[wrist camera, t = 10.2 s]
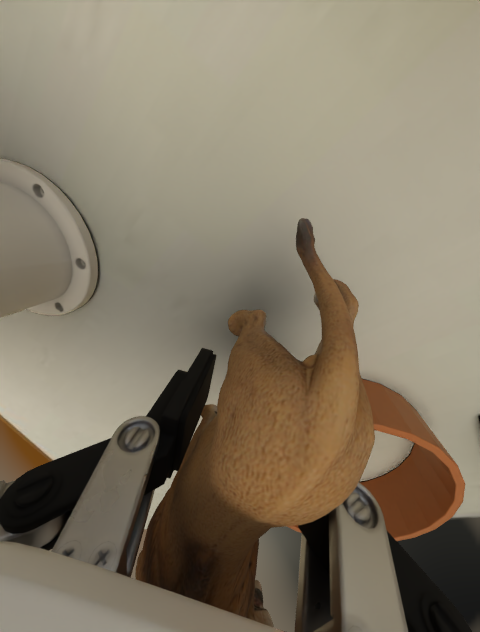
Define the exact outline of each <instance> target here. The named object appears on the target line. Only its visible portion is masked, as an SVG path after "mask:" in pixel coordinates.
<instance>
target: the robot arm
mask: <svg viewBox="0 0 480 632" xmlns="http://www.w3.org/2000/svg"><path fill="white" fill-rule="evenodd" d="M97 277H98V261H97V256H96V251H95V247H94V244H93V241H92V238H91V236H90V233H89V230H88V229H87V227H86V225H85V223H84V221H83V219H82V217H81V215H80V214H79V213H78V211H77V210H76V208H75V207H74V206H73V204H72V203H71V201H70V200H69V199H68V198H67V197H66V196H65V195H64V194H63V193H62V192H61V190H60V189H59V188H58V187H57V186H56V185H54V184H53V183H52V182H51V181H49V180H48V179H47V178H46V177H44V176H43V175H42V174H40V173H38V172H37V171H35V170H33V169H31V168H30V167H28V166H25V165H23V164H20V163H17V162H14V161H11V160H6V159H1V158H0V318H2V317H5V316H8V315H10V314H13V313H16V312H19V311H22V310H25V309H26V310H28V311H31V312H34V313H37V314H42V315H47V316H58V315H63V314H67V313H69V312H72V311H74V310H76V309H79V308H80V307H81V306H83V305H84V304H86V303H87V301H88V300H89V299H90V297H91V296H92V295H93V292H94V290H95V287H96V284H97ZM215 360H216V355H215V354H213V351H212V350H208V349H204V348H202V349H201V351H200V352H199V354H198V356H197V357H196V359H195V361H194V362H193V364H192V366H191V367H190V369H189V371H188V372H185V371H182V370H178V371H177V372H176V373H175V374H174V376H173V377H172V379H171V380H170V382H169V383H168V385H167V386H166V388H165V389H164V391H163V392H162V394H161V395H160V397H159V398H158V399H157V401H156V402H155V404H154V405H153V407H152V408H151V410H150V411H149V413H148V414H147V416H138V417H134V418H131V419H129V420H127V421H125V422H124V423H123V424H121V425H120V426H119V427H118V428H117V430H116V431H115V433H114V434H113V436H112V438H110V439H107V440H105V441H102V442H100V443H97V444H95V445H92V446H89V447H87V448H84V449H82V450H79V451H77V452H74V453H71V454H69V455H66V456H64V457H61V458H59V459H56V460H53V461H51V462H48V463H46V464H43V465H41V466H38V467H36V468H34V469H32V470H30V471H28V472H26V473H25V474H24V475H22V476H21V477H19V478H18V479H16V481H13V482H9V483H5V481H4V480H3V481H0V632H285V631H282V630H279V629H276V628H273V627H271V626H268V625H265V624H262V623H259V622H256V621H254V620H251V619H248V618H245V617H242V616H239V615H237V614H234V613H231V612H228V611H225V610H222V609H219V608H217V607H214V606H211V605H208V604H205V603H202V602H200V601H197V600H194V599H191V598H188V597H185V596H182V595H180V594H177V593H174V592H171V591H168V590H165V589H162V588H159V587H156V586H154V585H151V584H148V583H145V582H142V581H139V580H136V579H133V578H131V574H132V570H133V567H134V563H135V560H136V556H137V552H138V549H139V545H140V541H141V538H142V534H143V531H144V527H145V523H146V520H147V516H148V512H149V509H150V505H151V502H152V498H153V494H154V491H155V489H156V488H158V487H160V486H161V485H163V484H164V483H165V480H166V478H171V475H172V473H173V471H174V470H176V471H178V470H179V469H180V466H181V464H182V461H183V459H184V456H185V454H186V451H187V449H188V446H189V443H190V441H191V438H192V436H193V433H194V431H195V428H196V426H197V423H198V421H199V418H200V416H201V413H202V411H203V408H204V406H205V403H206V401H207V398H208V394H209V389H210V384H211V379H212V374H213V370H214V365H215ZM298 528H299V529H300V531H301V532H302V538H301V552H300V565H299V580H298V593H297V608H296V621H295V632H472V630H471V629H470V627H469V626H468V624H467V623H466V621H465V619H464V618H463V616H462V615H461V614H460V612H459V611H458V610H457V609H456V607H455V606H454V605H453V604H452V602H451V601H449V599H448V598H447V597H446V596H445V595H444V593H443V592H442V591H441V590H440V589H439V588H438V587H437V586H436V585H435V583H434V582H433V581H432V580H431V579H430V578H429V577H428V576H427V575H426V573H425V572H424V571H423V570H422V569H421V568H420V567H419V566H418V565H417V563H416V562H415V561H414V560H413V559H412V558H411V557H410V556H409V554H408V553H407V552H406V551H405V550H404V549H403V548H402V547H401V546H400V545H399V543H398V542H397V541H396V540H395V539H394V538H393V537H392V536H391V534H390V533H389V532H388V531H387V530H386V525H385V521H384V516H383V513H382V510H381V508H380V506H379V504H378V502H377V501H376V499H375V498H374V496H373V495H372V494H371V492H370V491H369V490H368V489H367V488H365V487H364V486H363V485H362V484H360V483H359V482H358V485H357V487H356V488H355V489H354V491H353V492H352V493H351V494H350V495H349V497H348V498H347V499H346V500H345V501H344V502H343V503H342V504H341V505H339V506H338V507H336V508H335V509H334V510H332V511H331V512H329V513H328V514H326V515H325V516H323V517H321V518H319V519H317V520H315V521H313V522H310V523H306V524H303V525H298ZM52 548H53V549H52ZM50 549H52V551H49V550H50Z"/></svg>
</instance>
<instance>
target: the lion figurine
mask: <svg viewBox="0 0 480 632" xmlns="http://www.w3.org/2000/svg"><path fill="white" fill-rule="evenodd" d="M314 242H315V238H314V236H313V227H312V225H311V222H310V221H309V220H308V219H304V218H301V219H300V220H299V222H298V227H297V234H296V248H297V252H298V254H299V256H300V258H301V260H302V262H303V265H304V267H305V268H306V270H307V272H308V274H309V276H310V278H311V280H312V283H313V285H314V288H315V295H314V302H315V304H316V305H317V307H318V309H319V310H320V315H321V322H322V340H321V342H320V344H319V346H318V348H317V351H316V353H315V354H314V355H311V356H309V357H307V358H306V359H305V360H304V361H303V362H300V361H299V360H297V359H296V358H295V357H294V356H292V355H291V354H290V353H289V352H288V351H287V350H286V349H285V348H284V347H283V346H282V345H281V344H280V343H278V342H277V341H276V340H275V339H274V338H273V337H272V336H270V335H269V334H268V333H266V332H265V330H264V328H265V324H266V313H265V312H264V311H262V310H253V311H248V310H240V311H237V312H236V313H234V314H233V315H232V316H231V317H230V318H229V320H228V326H229V330H230V331H231V332H232V333H233V334H234V335H236V336H239V337H238V340H237V341H236V343H235V345H234V347H233V349H232V351H231V354H230V357H229V362H228V371H227V375H226V378H225V380H224V382H223V385H222V387H221V390H220V393H219V399H218V405H217V406H216V405H213V404H209V405H205V406H204V408H203V411H202V413H201V416H202V418H203V419H202V421H201V423H200V425H199V426H198V428H197V430H196V431H195V433H194V435H193V438H192V440H191V442H190V443H189V446H188V449H187V451H186V454H185V456H184V459H183V461H182V464H181V466H180V469H179V470H178V472H177V474H176V476H175V478H174V480H173V482H172V485H171V488H170V489H169V490H168V491H167V493H166V494H165V496H164V498H163V500H162V501H161V502H160V504H159V506H158V507H157V509H156V511H155V513H154V515H153V517H152V519H151V521H150V522H149V525H148V528H147V533H146V537H145V541H144V546H143V550H142V551H141V553H140V554H139V557H138V561H137V566H136V580H139V581H142V582H145V583H148V584H151V585H154V586H156V587H159V588H162V589H165V590H168V591H171V592H174V593H177V594H180V595H182V596H185V597H188V598H191V599H194V600H197V601H200V602H202V603H205V604H208V605H211V606H214V607H217V608H219V609H222V610H225V611H228V612H231V613H234V614H237V615H239V616H242V617H245V618H248V619H251V620H254V621H256V622H259V623H262V624H265V625H268V626H271V627H273V628H274V626H273V622H272V619H271V616H270V614H269V612H268V611H267V610H266V609H264V608H263V595H262V588H261V584H260V582H259V581H258V580H255V575H256V567H257V555H258V546H259V538H260V537H261V536H262V535H263V534H264V533H266V532H267V531H268V530H269V529H270V528H272V527H282V526H295V525H303V524H306V523H310V522H313V521H315V520H317V519H319V518H321V517H323V516H325V515H326V514H328V513H329V512H331V511H332V510H334V509H335V508H336V507H338V506H339V505H341V504H342V503H343V502H344V501H345V500H346V499H347V498H348V497H349V495H350V494H351V493H352V492H353V491H354V489H355V488H356V487H357V485H358V482H359V480H360V478H361V476H362V474H363V471H364V469H365V467H366V465H367V462H368V459H369V456H370V453H371V450H372V448H373V445H374V440H375V435H374V425H373V416H372V410H371V406H370V403H369V400H368V397H367V394H366V391H365V388H364V385H363V382H362V379H361V376H360V373H359V363H358V352H357V344H356V339H355V333H354V329H353V323H354V319H355V317H356V315H357V312H358V306H359V305H358V301H357V299H356V298H355V296H354V295H353V294H352V293H351V291H350V289H349V288H348V286H347V285H346V284H344V283H343V282H341V281H339V280H335V279H332V277H331V276H330V275H329V274H328V272H327V271H326V269H325V268H324V266H323V264H322V263H321V261H320V259H319V257H318V255H317V254H316V251H315V248H314Z"/></svg>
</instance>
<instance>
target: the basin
mask: <svg viewBox="0 0 480 632" xmlns="http://www.w3.org/2000/svg"><path fill="white" fill-rule="evenodd" d="M362 382H363V385H364V388H365V391H366V394H367V397H368V400H369V403H370V406H371V410H372V416H373V425H374V430H377V431H381V432H384V433H388V434H392V435H395V436H399V437H402V438H406V439H408V440H410V441H412V442H414V443H415V445H414V447H413V449H412V451H411V454H410V455H409V456H408V458H407V459H406V460H405V461H404V462H403V463H402V464H401V465H400V466H399V467H397V468H396V469H394V470H392V471H391V472H389V473H387V474H386V475H384V476H381V477H378V478H375V479H372V480H370V481H366V482H360V484H362V485H363V486H364V487H365V488H367V489H368V490H369V491H370V492H371V494H372V495H373V496H374V498H375V499H376V501H377V502H378V504H379V506H380V508H381V510H382V513H383V516H384V521H385V525H386V530H387V531H388V532H389V533H390V534H391V536H392V537H393V538H394V539H395V540H396V541H399V540H404V539H409V538H414V537H416V536H419V535H421V534H424V533H427V532H429V531H432V530H434V529H436V528H437V527H439V526H440V525H442V524H443V523H445V522H446V521H447V520H449V519H450V518H452V517H453V515H454V514H455V512H456V511H457V510H458V508H459V507H460V505H461V504H462V502H463V497H464V489H465V482H464V480H463V477H462V475H461V473H460V470H459V468H458V465H457V464H456V463H455V461H454V460H453V459H452V457H451V456H450V455H449V453H448V452H447V451H446V449H445V448H444V447H443V446H442V444H441V443H440V442H439V440H438V439H437V438H436V436H435V435H434V434H433V432H432V431H431V430H430V428H429V427H428V426H427V424H426V423H425V422H424V420H423V419H422V418H421V416H420V415H419V414H418V412H417V411H416V410H415V409H414V408H413V407H412V406H411V405H410V404H409V403H408V402H407V401H406V400H405V399H404V398H403V397H402V396H401V395H399V394H398V393H396V392H394V391H392V390H390V389H388V388H387V387H385V386H383V385H381V384H378V383H375V382H371V381H367V380H364V379H362ZM287 527H289V528H292V529H294V530H296V531H298V532H301V531H300V529H299V528H298V525H295V526H287ZM301 533H302V532H301Z"/></svg>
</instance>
